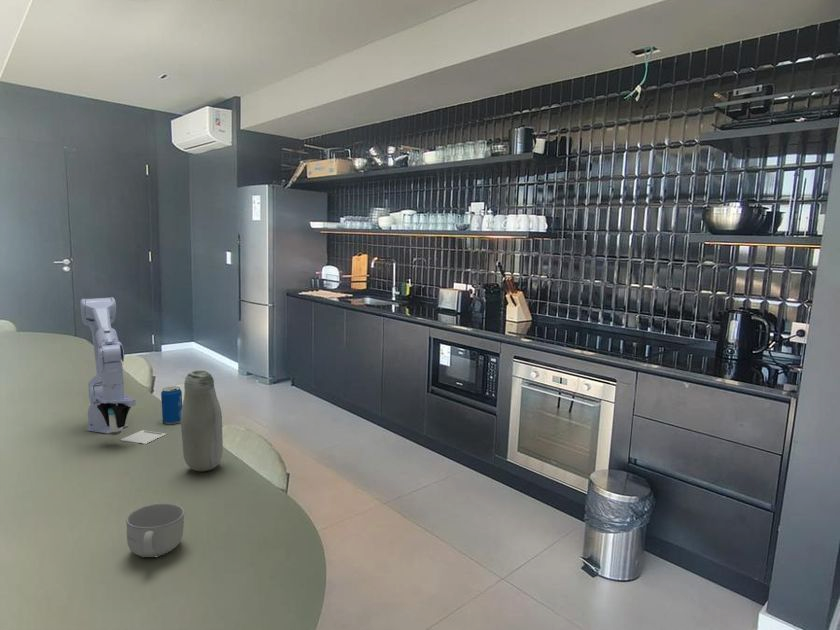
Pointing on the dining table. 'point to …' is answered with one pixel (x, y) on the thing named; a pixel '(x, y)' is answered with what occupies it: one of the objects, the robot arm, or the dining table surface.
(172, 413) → the beverage can
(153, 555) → the teacup
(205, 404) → the grey bottle
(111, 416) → the white teal capped bottle
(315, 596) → the dining table surface
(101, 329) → the robot arm
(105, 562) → the dining table surface
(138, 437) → the white flat panel
